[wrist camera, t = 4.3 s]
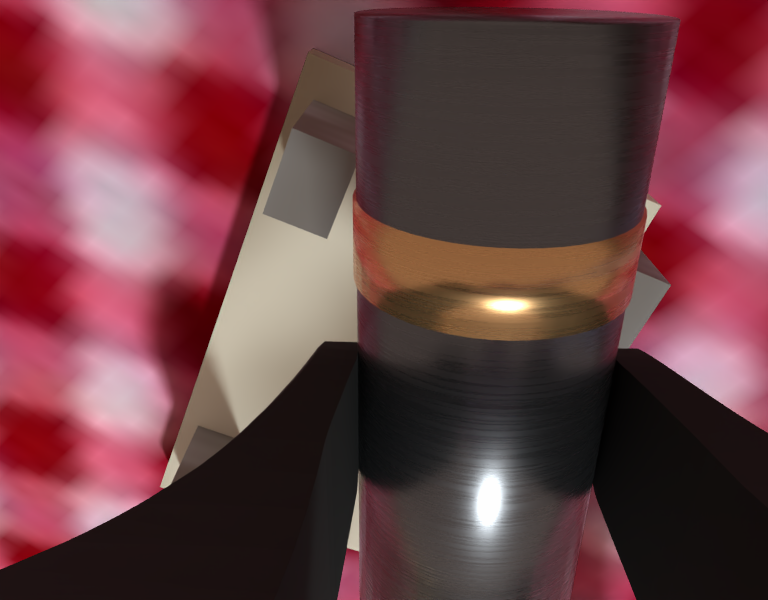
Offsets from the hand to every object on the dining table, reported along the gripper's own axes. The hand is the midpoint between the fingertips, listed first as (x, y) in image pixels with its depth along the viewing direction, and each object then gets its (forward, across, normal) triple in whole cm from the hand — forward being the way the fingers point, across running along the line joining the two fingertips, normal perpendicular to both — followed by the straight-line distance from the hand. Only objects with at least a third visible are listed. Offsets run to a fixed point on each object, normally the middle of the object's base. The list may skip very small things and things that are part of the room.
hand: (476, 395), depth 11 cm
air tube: (+2, 0, 0) cm, 2 cm away
